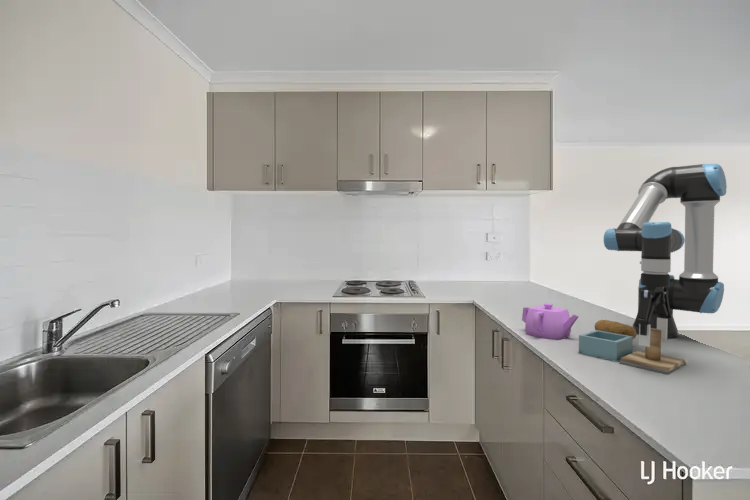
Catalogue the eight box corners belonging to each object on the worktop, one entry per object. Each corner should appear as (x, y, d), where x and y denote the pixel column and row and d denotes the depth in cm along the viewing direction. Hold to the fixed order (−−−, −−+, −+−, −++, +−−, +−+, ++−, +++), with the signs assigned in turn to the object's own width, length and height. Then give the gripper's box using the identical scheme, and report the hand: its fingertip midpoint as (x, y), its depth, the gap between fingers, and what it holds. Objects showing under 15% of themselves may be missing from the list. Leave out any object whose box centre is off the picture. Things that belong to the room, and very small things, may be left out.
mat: (639, 354, 144) (639, 353, 144) (686, 364, 134) (686, 362, 134) (619, 363, 135) (619, 361, 135) (667, 374, 125) (667, 372, 125)
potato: (627, 350, 150) (628, 326, 150) (588, 341, 162) (589, 319, 162) (642, 346, 155) (643, 323, 155) (603, 337, 167) (604, 317, 167)
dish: (595, 347, 154) (596, 330, 154) (632, 354, 144) (633, 336, 144) (578, 353, 146) (579, 335, 146) (616, 361, 137) (617, 342, 137)
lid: (638, 353, 144) (639, 323, 143) (685, 363, 133) (686, 330, 133) (620, 360, 135) (621, 328, 135) (669, 371, 125) (670, 336, 125)
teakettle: (519, 329, 181) (520, 300, 180) (561, 330, 180) (561, 300, 180) (533, 340, 164) (533, 307, 163) (579, 340, 163) (580, 307, 163)
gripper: (657, 269, 144) (655, 333, 145) (624, 274, 128) (622, 346, 129) (684, 271, 138) (681, 338, 139) (653, 276, 122) (650, 351, 123)
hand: (653, 342), depth 134 cm, fingers open, 13 cm apart
